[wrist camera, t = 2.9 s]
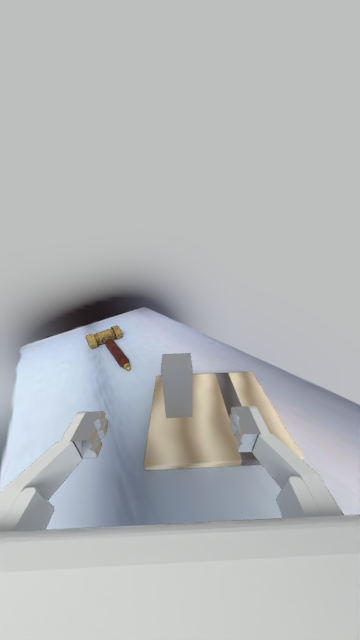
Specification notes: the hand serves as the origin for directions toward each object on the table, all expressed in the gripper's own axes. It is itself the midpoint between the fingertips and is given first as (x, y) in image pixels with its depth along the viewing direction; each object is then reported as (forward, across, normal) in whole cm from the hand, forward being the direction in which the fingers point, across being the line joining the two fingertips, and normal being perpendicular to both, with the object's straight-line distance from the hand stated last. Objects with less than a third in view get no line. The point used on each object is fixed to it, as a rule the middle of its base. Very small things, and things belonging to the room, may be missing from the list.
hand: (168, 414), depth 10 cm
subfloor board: (+12, -7, +18) cm, 23 cm away
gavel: (+32, +18, +20) cm, 41 cm away
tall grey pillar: (+12, -1, +17) cm, 21 cm away
